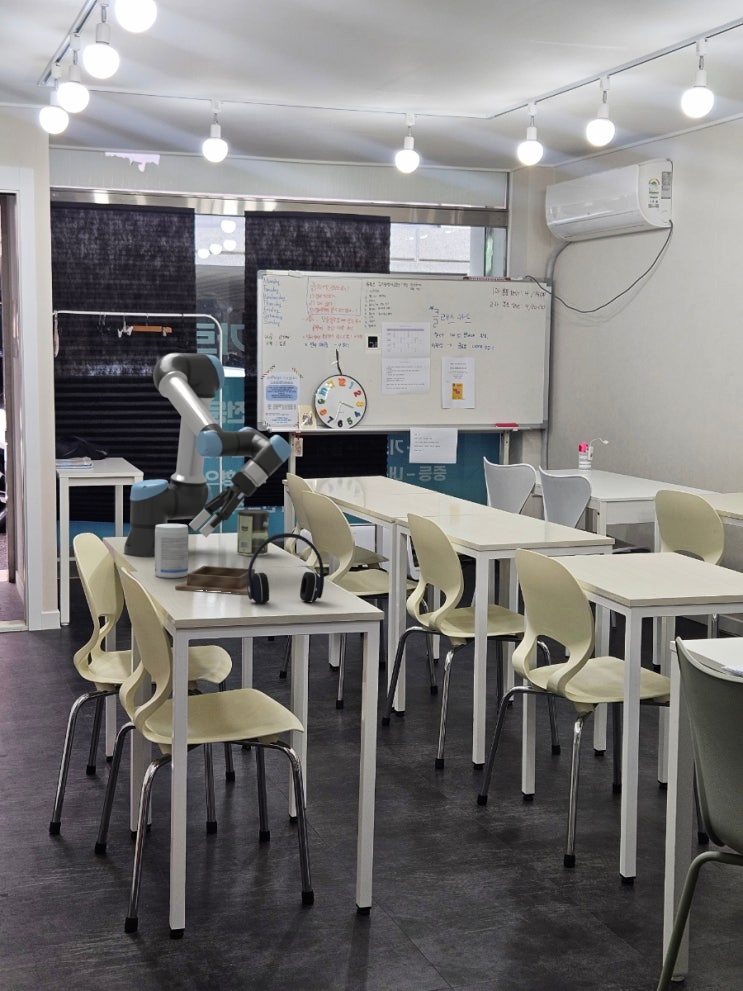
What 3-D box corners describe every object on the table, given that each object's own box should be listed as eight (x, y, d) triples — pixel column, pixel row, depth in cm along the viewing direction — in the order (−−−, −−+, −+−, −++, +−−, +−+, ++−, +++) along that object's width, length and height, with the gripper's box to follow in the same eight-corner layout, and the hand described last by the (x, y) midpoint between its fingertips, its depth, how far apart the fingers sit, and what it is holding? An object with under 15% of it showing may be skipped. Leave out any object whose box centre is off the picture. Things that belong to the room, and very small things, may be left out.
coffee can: (269, 552, 392) (270, 510, 390) (265, 556, 382) (267, 513, 380) (238, 550, 392) (239, 508, 391) (234, 555, 382) (235, 512, 380)
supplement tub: (194, 576, 341) (196, 525, 340) (171, 580, 334) (172, 528, 332) (170, 571, 347) (171, 522, 345) (147, 575, 339) (148, 524, 338)
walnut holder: (175, 589, 319) (175, 575, 319) (197, 577, 339) (198, 563, 339) (246, 594, 316) (247, 580, 316) (265, 582, 336) (265, 568, 336)
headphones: (318, 599, 315) (320, 531, 313) (325, 604, 308) (327, 535, 307) (244, 600, 309) (246, 531, 307) (250, 606, 302) (252, 535, 300)
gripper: (269, 492, 334) (216, 546, 330) (246, 483, 357) (196, 533, 353) (251, 474, 332) (198, 527, 328) (229, 466, 355) (179, 516, 351)
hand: (197, 531), depth 340 cm, fingers open, 13 cm apart
